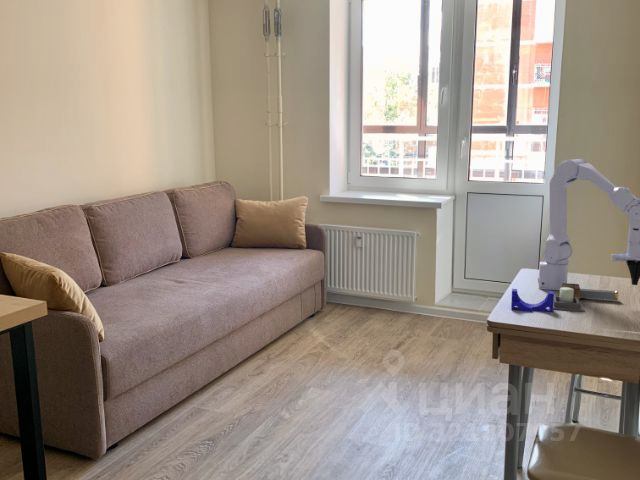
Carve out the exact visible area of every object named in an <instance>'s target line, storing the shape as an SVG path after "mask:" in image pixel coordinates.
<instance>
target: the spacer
mask: <svg viewBox="0 0 640 480" xmlns="http://www.w3.org/2000/svg"><path fill="white" fill-rule="evenodd" d="M573 294H574V289H572V288H568V287H562V288H560V290H559V302H568V303H573Z"/></svg>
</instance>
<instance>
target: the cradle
mask: <svg viewBox="0 0 640 480" xmlns="http://www.w3.org/2000/svg"><path fill="white" fill-rule="evenodd" d="M559 296H560V295H559ZM559 296H558V295H554V300H553V311H554V310H556V311H567V312H568V311H569V312H581V313H584V312H585V307H584V304H583V301H581V300H578V298H576V297H573V303H568V302H559ZM548 309H550V307H548Z"/></svg>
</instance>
